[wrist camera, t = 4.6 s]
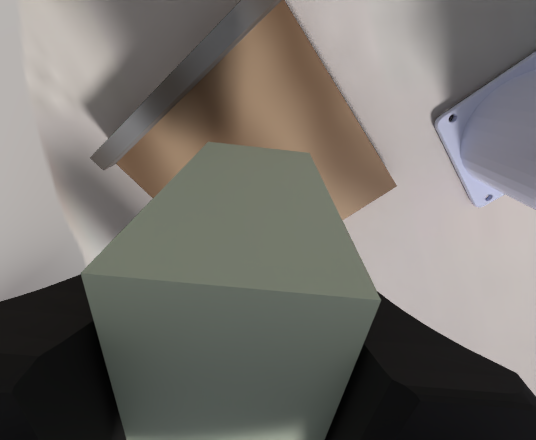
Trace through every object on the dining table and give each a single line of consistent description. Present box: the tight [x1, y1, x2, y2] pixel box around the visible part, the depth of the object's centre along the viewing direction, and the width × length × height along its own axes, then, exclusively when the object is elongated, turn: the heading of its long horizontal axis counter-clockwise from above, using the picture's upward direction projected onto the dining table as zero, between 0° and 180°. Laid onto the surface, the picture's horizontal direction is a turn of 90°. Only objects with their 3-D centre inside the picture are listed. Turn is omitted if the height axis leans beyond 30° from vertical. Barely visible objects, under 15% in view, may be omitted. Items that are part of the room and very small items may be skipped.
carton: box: [81, 142, 381, 440], centre depth 9 cm, size 4×7×8 cm, turn 174°
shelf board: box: [90, 0, 397, 220], centre depth 18 cm, size 14×14×3 cm
